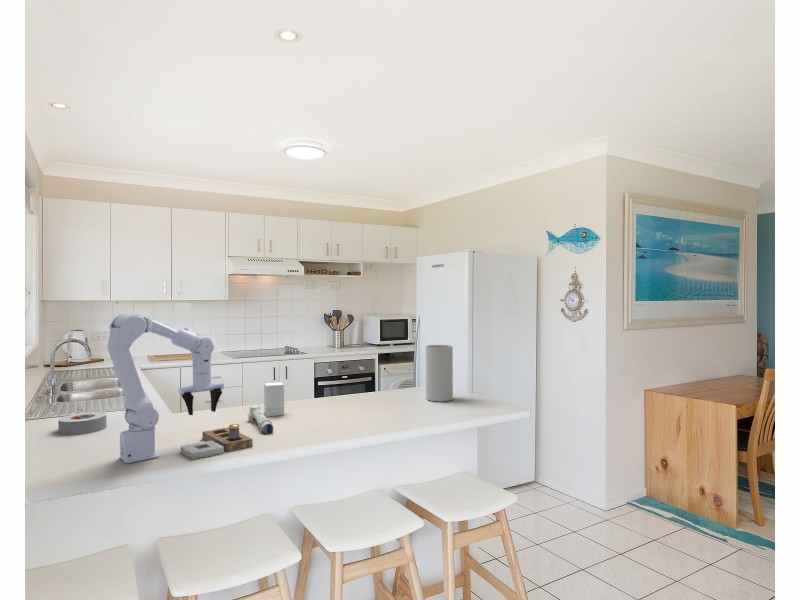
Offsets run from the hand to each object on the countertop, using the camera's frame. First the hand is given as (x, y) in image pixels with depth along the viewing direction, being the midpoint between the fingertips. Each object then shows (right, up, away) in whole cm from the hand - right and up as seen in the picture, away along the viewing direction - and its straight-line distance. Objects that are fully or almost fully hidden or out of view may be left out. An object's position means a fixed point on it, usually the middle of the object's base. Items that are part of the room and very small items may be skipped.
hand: (202, 412), depth 179 cm
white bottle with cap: (+14, -10, +22) cm, 28 cm away
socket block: (+4, -10, -12) cm, 16 cm away
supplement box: (+14, -10, +42) cm, 45 cm away
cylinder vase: (+85, -9, +70) cm, 111 cm away
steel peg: (+12, -10, -5) cm, 17 cm away
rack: (+8, -10, -1) cm, 13 cm away
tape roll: (-51, -10, +18) cm, 55 cm away
